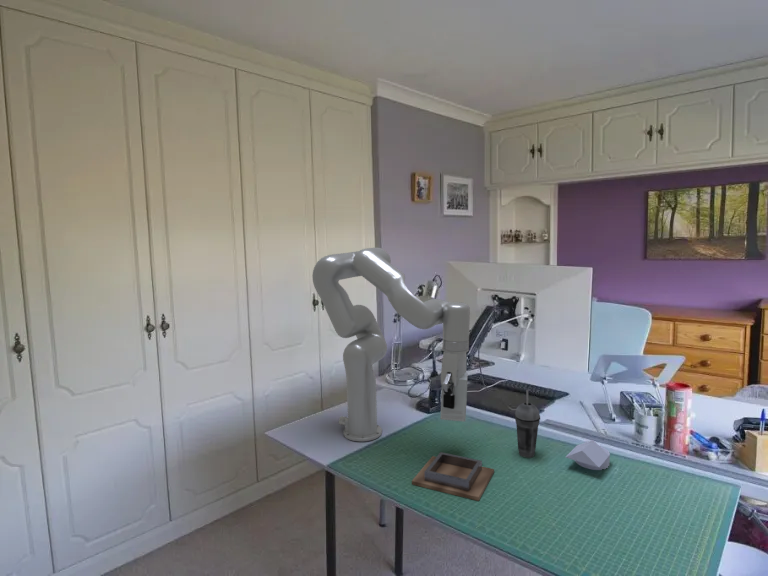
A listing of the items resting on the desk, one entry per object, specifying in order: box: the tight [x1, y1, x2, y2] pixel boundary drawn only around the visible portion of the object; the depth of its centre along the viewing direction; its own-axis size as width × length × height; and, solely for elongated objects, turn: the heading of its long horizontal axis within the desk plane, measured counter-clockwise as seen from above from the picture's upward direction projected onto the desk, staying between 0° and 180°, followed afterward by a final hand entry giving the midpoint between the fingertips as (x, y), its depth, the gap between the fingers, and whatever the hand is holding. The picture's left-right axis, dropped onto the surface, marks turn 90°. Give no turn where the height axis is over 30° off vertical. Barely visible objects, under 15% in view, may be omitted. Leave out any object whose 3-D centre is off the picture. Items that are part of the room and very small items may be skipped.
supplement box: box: [440, 371, 468, 422], centre depth 140 cm, size 7×7×13 cm
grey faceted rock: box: [565, 439, 611, 471], centre depth 134 cm, size 9×7×13 cm
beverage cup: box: [514, 389, 541, 459], centre depth 140 cm, size 7×7×20 cm
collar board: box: [411, 451, 495, 502], centre depth 128 cm, size 18×15×4 cm
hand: (454, 402), depth 141 cm, fingers closed on supplement box, 8 cm apart
